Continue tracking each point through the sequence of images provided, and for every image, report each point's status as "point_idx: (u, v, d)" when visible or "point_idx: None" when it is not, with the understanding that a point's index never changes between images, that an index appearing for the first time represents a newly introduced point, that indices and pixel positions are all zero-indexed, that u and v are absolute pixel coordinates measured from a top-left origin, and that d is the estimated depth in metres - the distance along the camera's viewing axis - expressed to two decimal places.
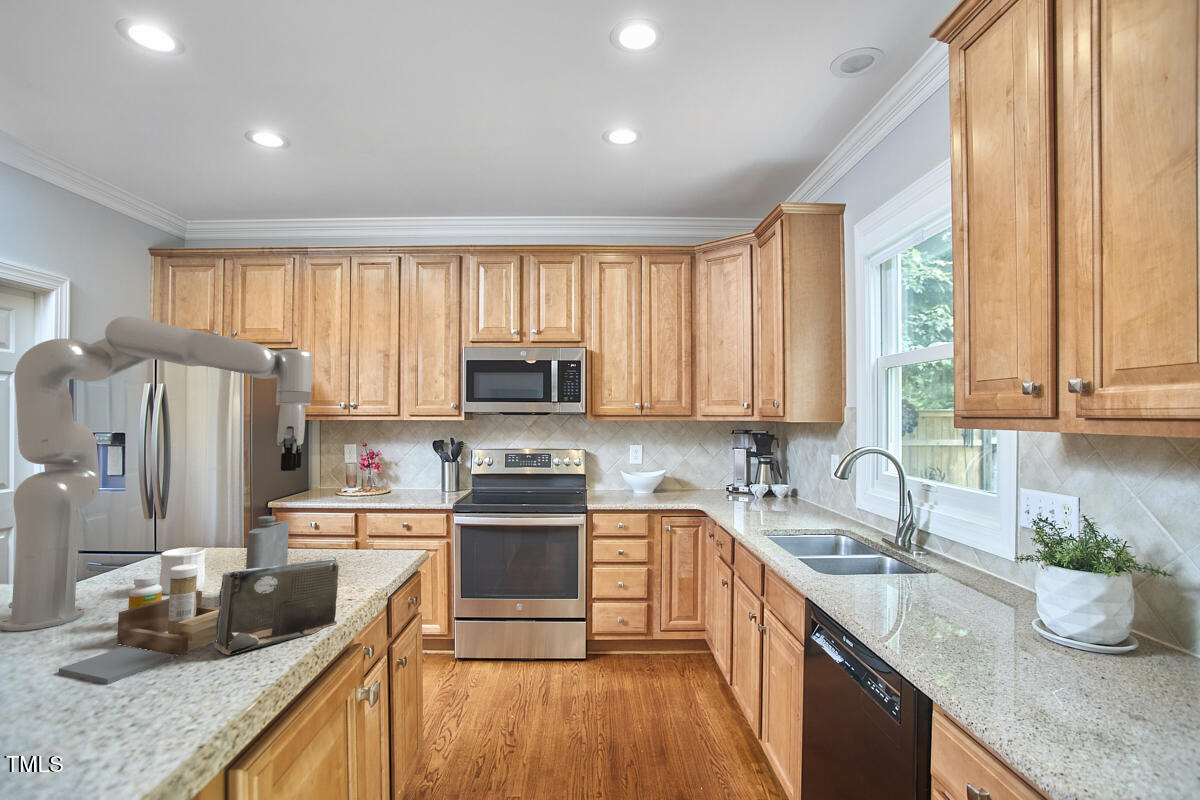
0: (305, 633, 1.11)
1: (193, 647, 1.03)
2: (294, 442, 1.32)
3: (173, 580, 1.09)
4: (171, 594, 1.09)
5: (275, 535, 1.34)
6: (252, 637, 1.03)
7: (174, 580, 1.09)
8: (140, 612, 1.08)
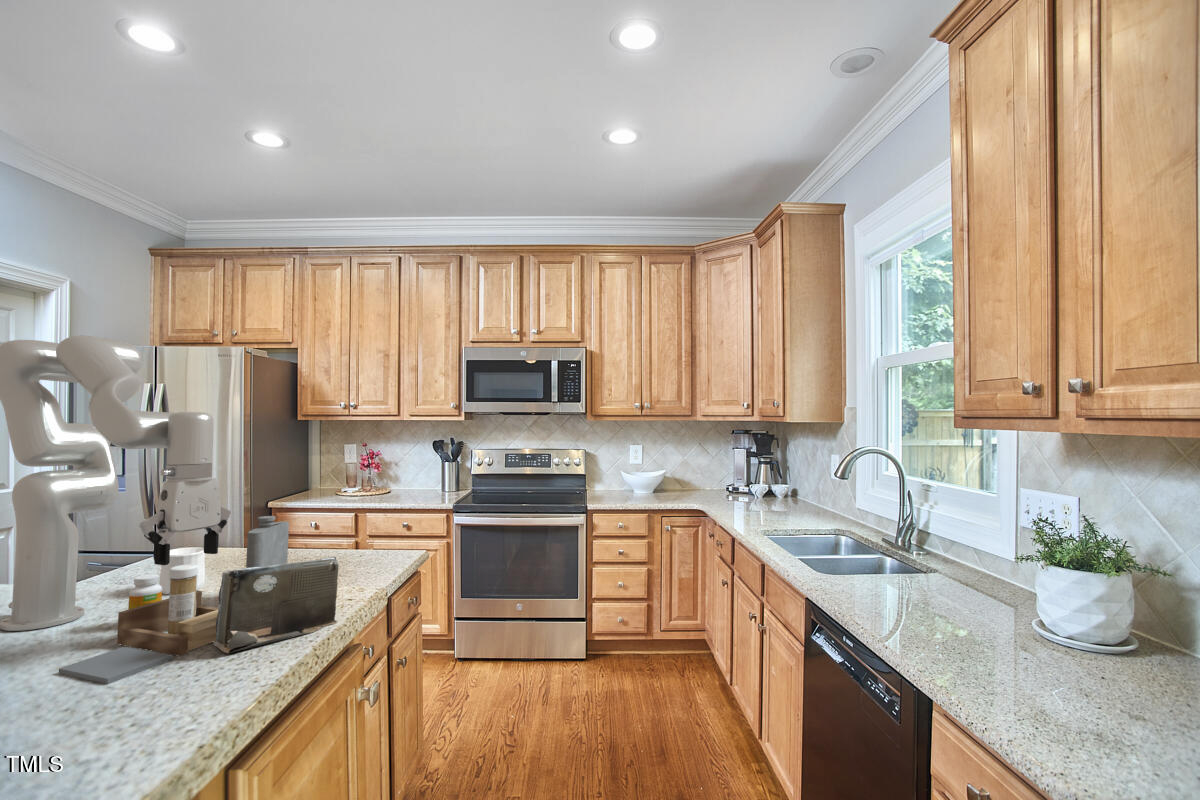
0: (304, 632, 1.11)
1: (193, 647, 1.03)
2: None
3: (173, 580, 1.09)
4: (171, 594, 1.09)
5: (275, 535, 1.34)
6: (251, 635, 1.03)
7: (174, 580, 1.09)
8: (140, 612, 1.08)
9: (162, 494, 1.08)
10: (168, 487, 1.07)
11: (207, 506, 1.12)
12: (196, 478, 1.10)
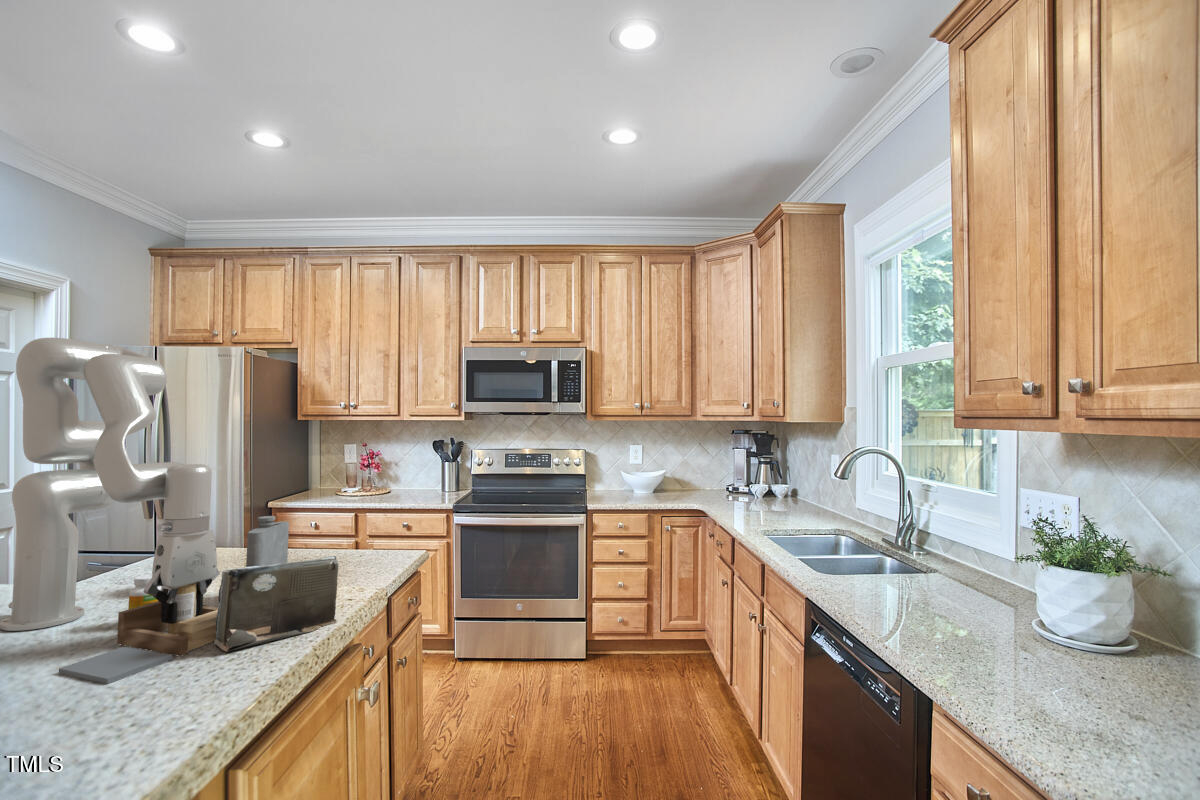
0: (304, 631, 1.12)
1: (193, 647, 1.03)
2: None
3: None
4: None
5: (275, 535, 1.34)
6: (250, 634, 1.04)
7: None
8: (140, 612, 1.08)
9: (158, 549, 1.07)
10: (164, 542, 1.07)
11: (203, 559, 1.12)
12: (193, 532, 1.09)
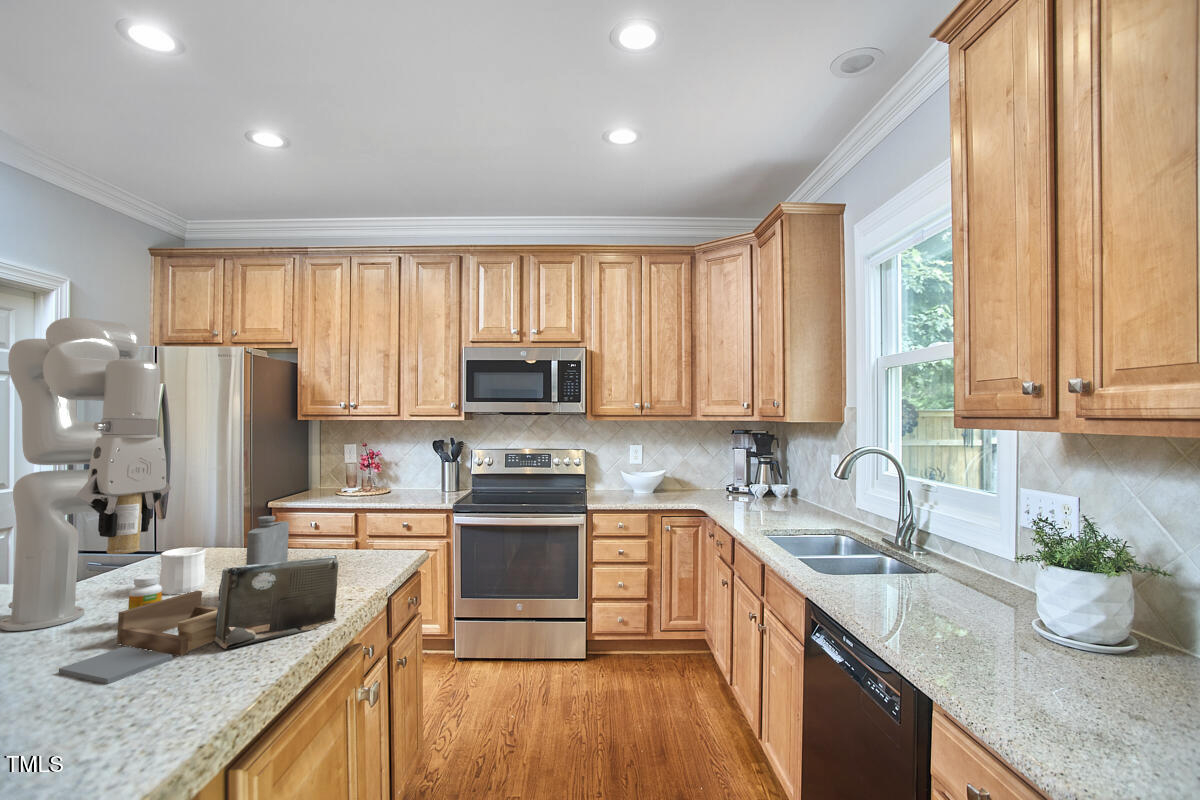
0: (303, 629, 1.13)
1: (193, 647, 1.03)
2: None
3: None
4: None
5: (275, 535, 1.34)
6: (249, 632, 1.05)
7: None
8: (140, 612, 1.08)
9: (95, 451, 0.94)
10: (102, 443, 0.93)
11: (149, 468, 0.98)
12: (136, 435, 0.95)
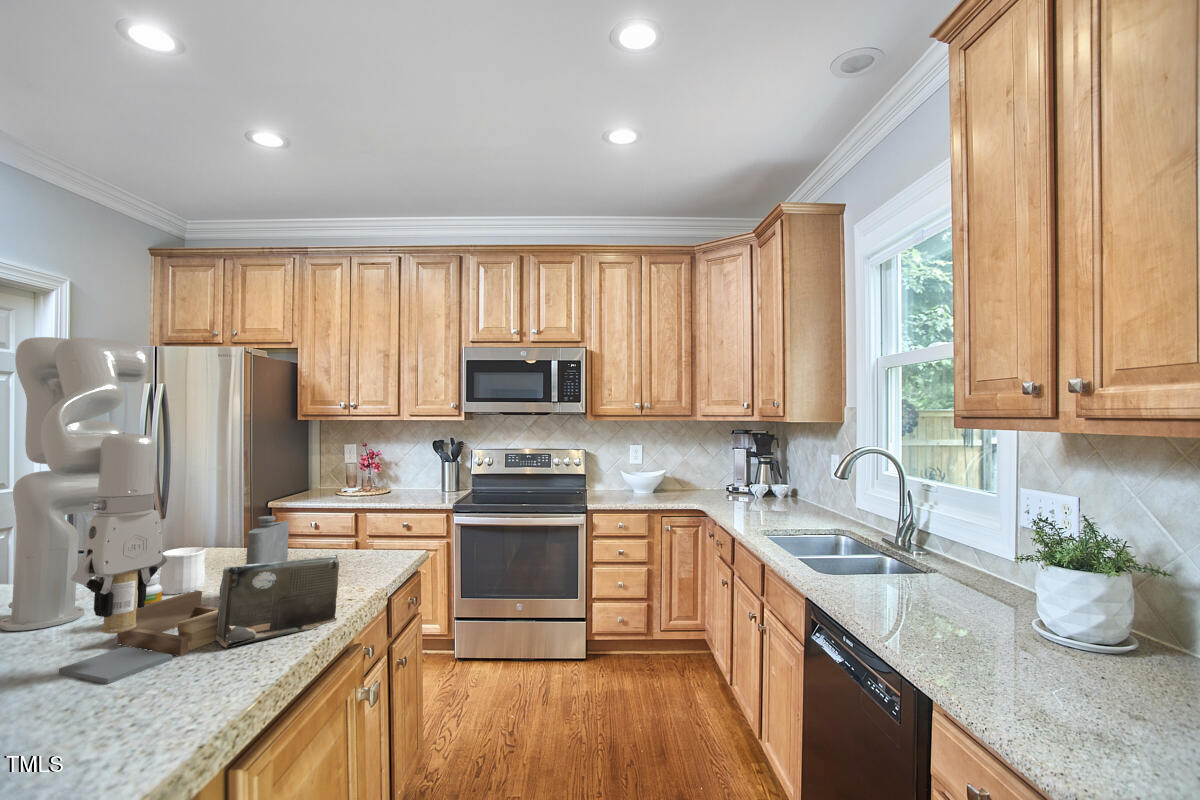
0: (303, 628, 1.13)
1: (193, 647, 1.03)
2: None
3: None
4: None
5: (275, 535, 1.34)
6: (249, 631, 1.06)
7: None
8: (140, 612, 1.08)
9: (91, 531, 0.93)
10: (97, 523, 0.92)
11: (145, 543, 0.97)
12: (132, 512, 0.95)
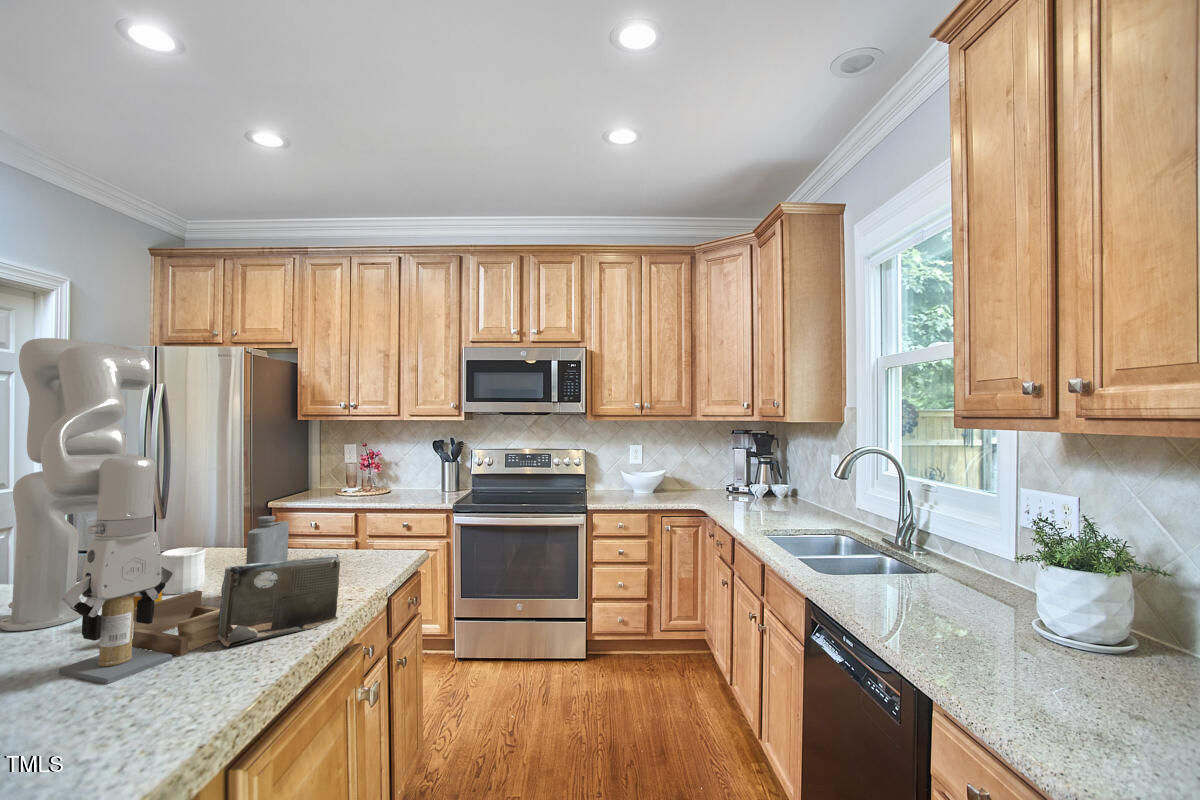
0: (304, 628, 1.14)
1: (193, 647, 1.03)
2: None
3: None
4: (103, 615, 0.94)
5: (275, 535, 1.34)
6: (251, 630, 1.06)
7: None
8: None
9: (89, 554, 0.93)
10: (96, 547, 0.92)
11: (144, 566, 0.97)
12: (130, 535, 0.95)
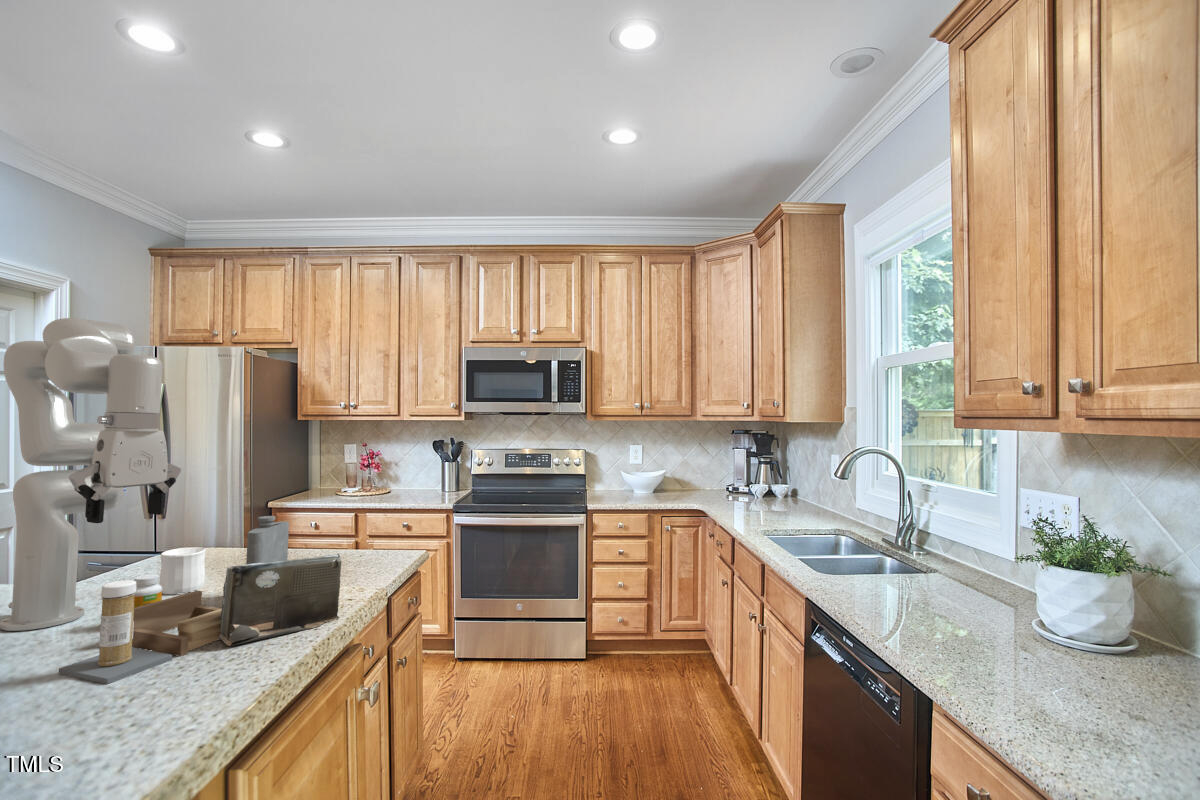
0: (306, 627, 1.14)
1: (193, 647, 1.03)
2: None
3: (105, 599, 0.94)
4: (103, 615, 0.94)
5: (275, 535, 1.34)
6: (253, 629, 1.07)
7: (106, 599, 0.94)
8: (140, 612, 1.08)
9: (98, 444, 0.96)
10: (105, 436, 0.95)
11: (151, 461, 1.01)
12: (138, 428, 0.98)
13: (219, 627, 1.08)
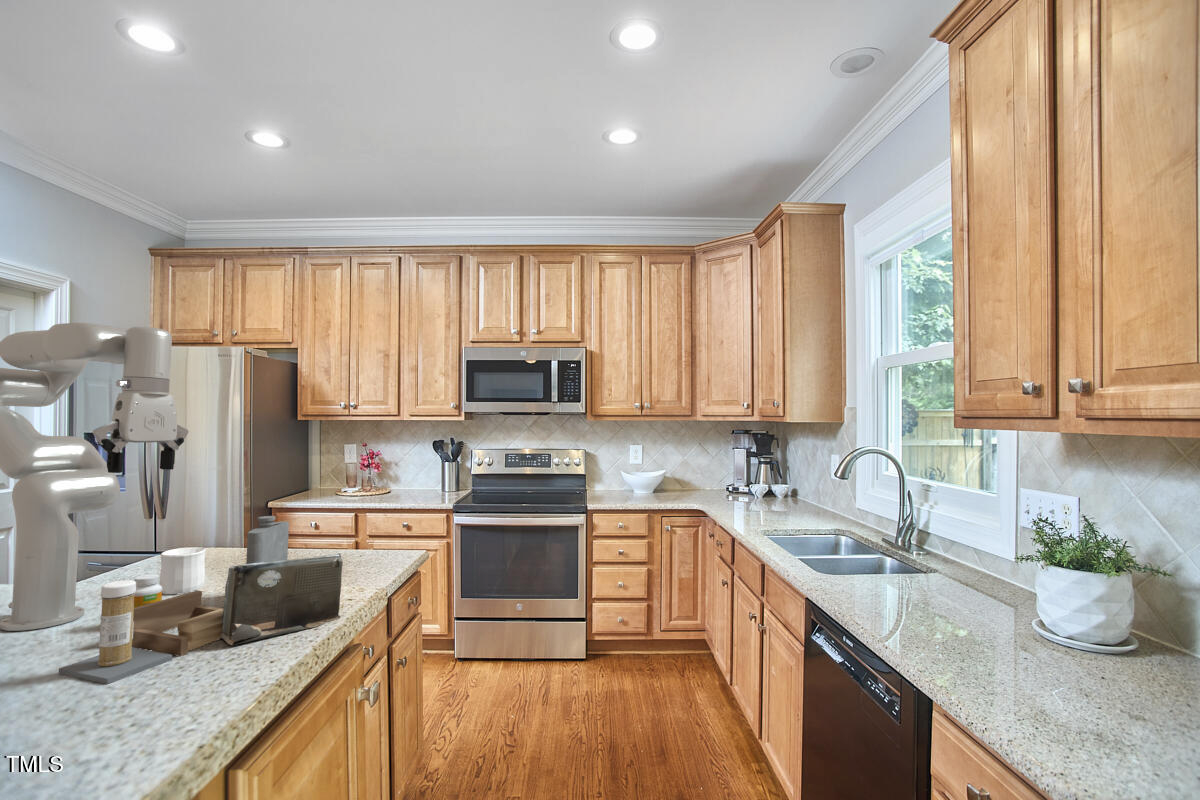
0: (307, 626, 1.14)
1: (193, 647, 1.03)
2: None
3: (105, 599, 0.94)
4: (102, 615, 0.94)
5: (275, 535, 1.34)
6: (254, 629, 1.07)
7: (106, 599, 0.94)
8: (140, 612, 1.08)
9: (117, 405, 1.10)
10: (123, 398, 1.09)
11: (163, 421, 1.15)
12: (152, 391, 1.12)
13: (219, 627, 1.08)
